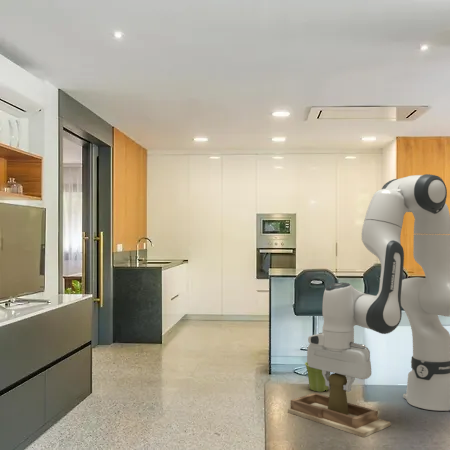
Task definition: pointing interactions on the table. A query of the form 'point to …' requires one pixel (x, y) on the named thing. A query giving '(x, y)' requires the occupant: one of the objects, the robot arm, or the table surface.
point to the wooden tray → (338, 415)
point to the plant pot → (316, 379)
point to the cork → (338, 394)
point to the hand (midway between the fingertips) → (338, 388)
